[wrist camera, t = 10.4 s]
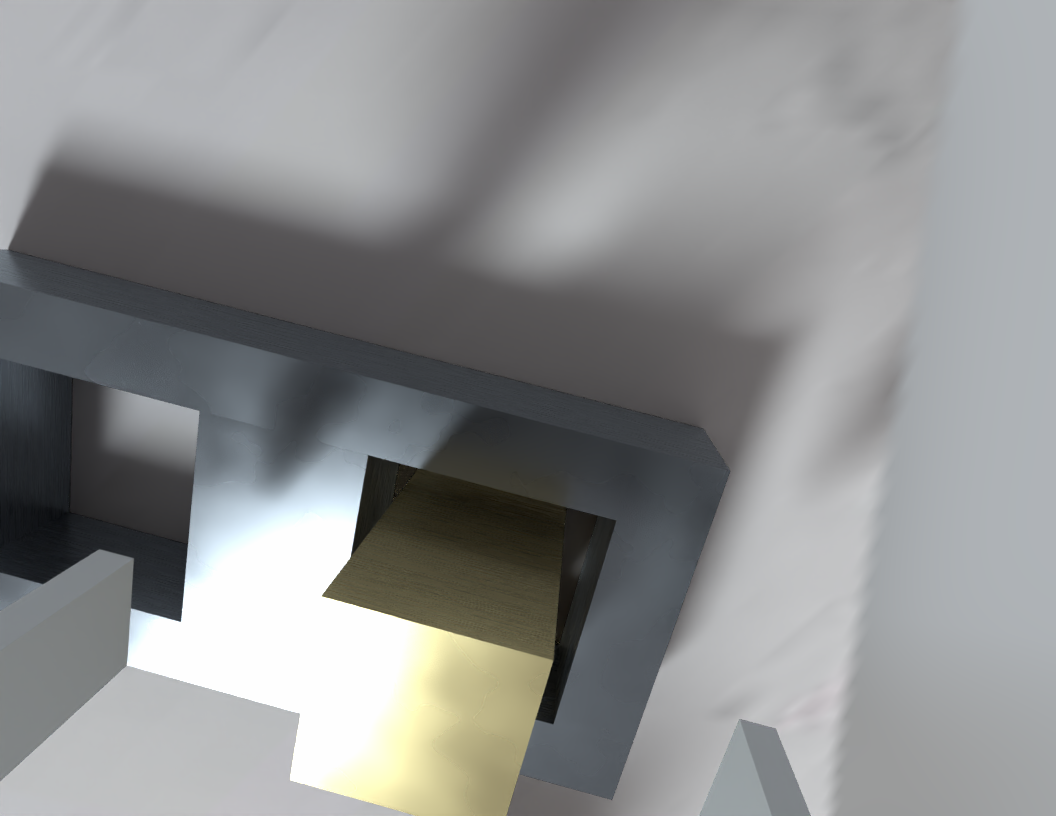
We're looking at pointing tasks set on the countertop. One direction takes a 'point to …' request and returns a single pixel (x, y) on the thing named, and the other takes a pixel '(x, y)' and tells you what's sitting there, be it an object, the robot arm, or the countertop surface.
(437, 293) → the countertop surface
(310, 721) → the brass block
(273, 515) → the grey flat slotted block
